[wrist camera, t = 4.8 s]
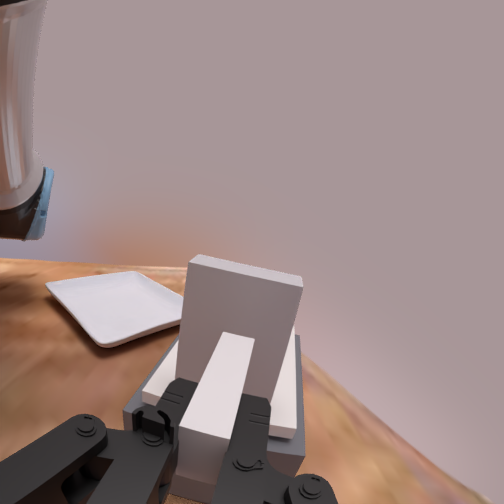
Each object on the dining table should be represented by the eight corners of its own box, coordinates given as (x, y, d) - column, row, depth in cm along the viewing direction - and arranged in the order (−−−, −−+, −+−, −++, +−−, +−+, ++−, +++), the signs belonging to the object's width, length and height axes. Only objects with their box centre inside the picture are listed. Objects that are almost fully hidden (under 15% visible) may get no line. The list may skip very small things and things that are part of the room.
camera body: (192, 365, 38) (201, 303, 36) (281, 386, 38) (299, 325, 36) (130, 479, 19) (122, 407, 17) (271, 515, 18) (306, 454, 16)
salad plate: (207, 325, 52) (210, 307, 51) (102, 364, 34) (101, 342, 33) (133, 283, 62) (135, 268, 61) (43, 300, 44) (42, 282, 43)
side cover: (202, 313, 33) (217, 223, 31) (292, 333, 32) (314, 244, 30) (142, 401, 18) (149, 255, 15) (292, 438, 17) (342, 298, 15)
